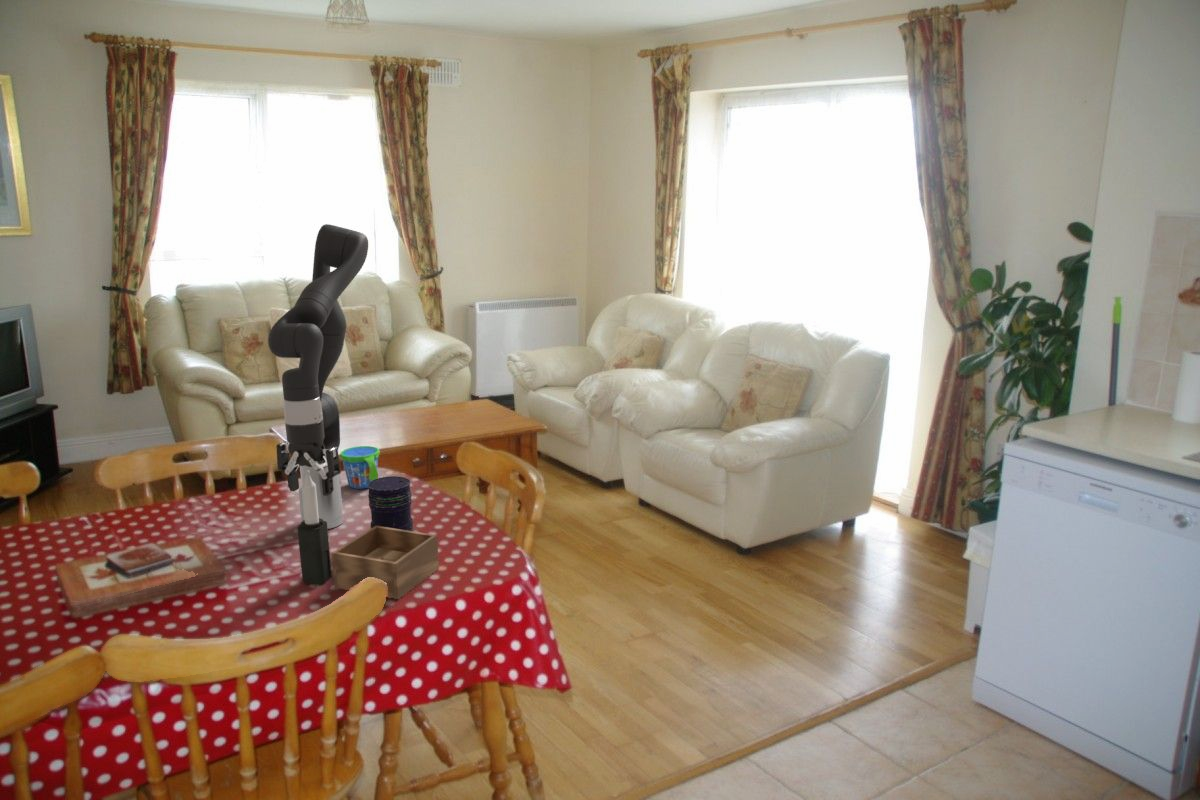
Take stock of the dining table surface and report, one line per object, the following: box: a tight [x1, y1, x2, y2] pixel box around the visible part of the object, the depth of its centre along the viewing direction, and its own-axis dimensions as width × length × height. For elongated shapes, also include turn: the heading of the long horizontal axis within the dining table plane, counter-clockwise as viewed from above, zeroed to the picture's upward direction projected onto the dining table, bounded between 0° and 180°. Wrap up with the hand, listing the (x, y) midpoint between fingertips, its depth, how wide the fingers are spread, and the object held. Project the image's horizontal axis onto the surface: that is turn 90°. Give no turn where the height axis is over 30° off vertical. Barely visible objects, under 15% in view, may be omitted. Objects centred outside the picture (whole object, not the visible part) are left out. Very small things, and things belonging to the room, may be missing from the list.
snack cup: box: [339, 445, 381, 490], centre depth 252 cm, size 16×10×10 cm
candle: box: [296, 470, 333, 586], centre depth 192 cm, size 5×5×25 cm
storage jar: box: [367, 475, 415, 532], centre depth 213 cm, size 10×10×15 cm
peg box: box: [330, 526, 440, 601], centre depth 195 cm, size 16×16×8 cm
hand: (311, 492), depth 190 cm, fingers open, 8 cm apart
